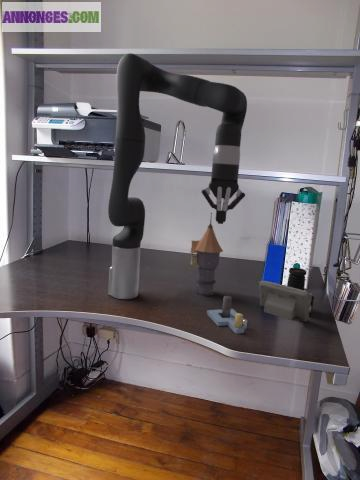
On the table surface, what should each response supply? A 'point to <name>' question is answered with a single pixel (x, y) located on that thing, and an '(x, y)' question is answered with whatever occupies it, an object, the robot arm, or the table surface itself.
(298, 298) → the digital clock
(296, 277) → the scope
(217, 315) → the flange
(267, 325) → the table surface
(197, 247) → the model tower
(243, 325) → the dowel
